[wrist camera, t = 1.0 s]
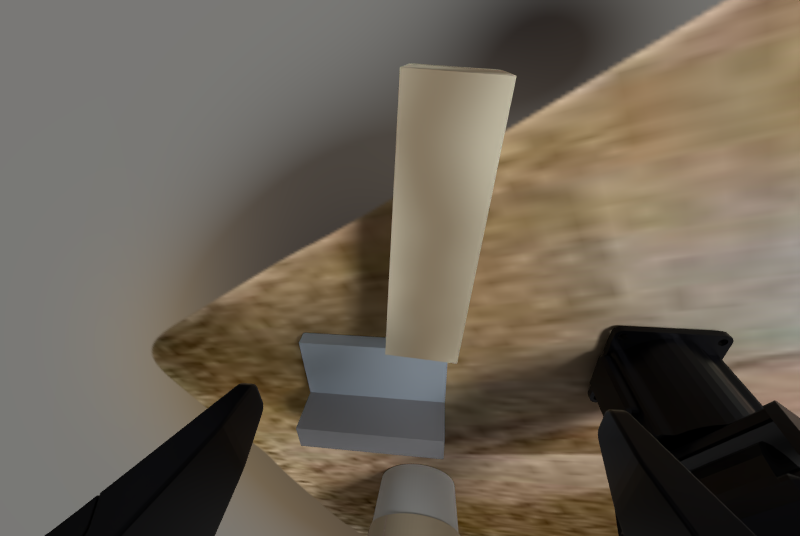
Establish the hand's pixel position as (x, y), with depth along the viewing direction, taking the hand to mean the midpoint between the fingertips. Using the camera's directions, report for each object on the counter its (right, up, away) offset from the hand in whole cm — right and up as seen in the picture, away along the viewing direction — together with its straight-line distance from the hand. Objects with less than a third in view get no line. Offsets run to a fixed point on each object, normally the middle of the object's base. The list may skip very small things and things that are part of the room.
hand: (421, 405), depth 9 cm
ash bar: (+1, +7, +10) cm, 12 cm away
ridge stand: (-2, -6, +18) cm, 19 cm away
